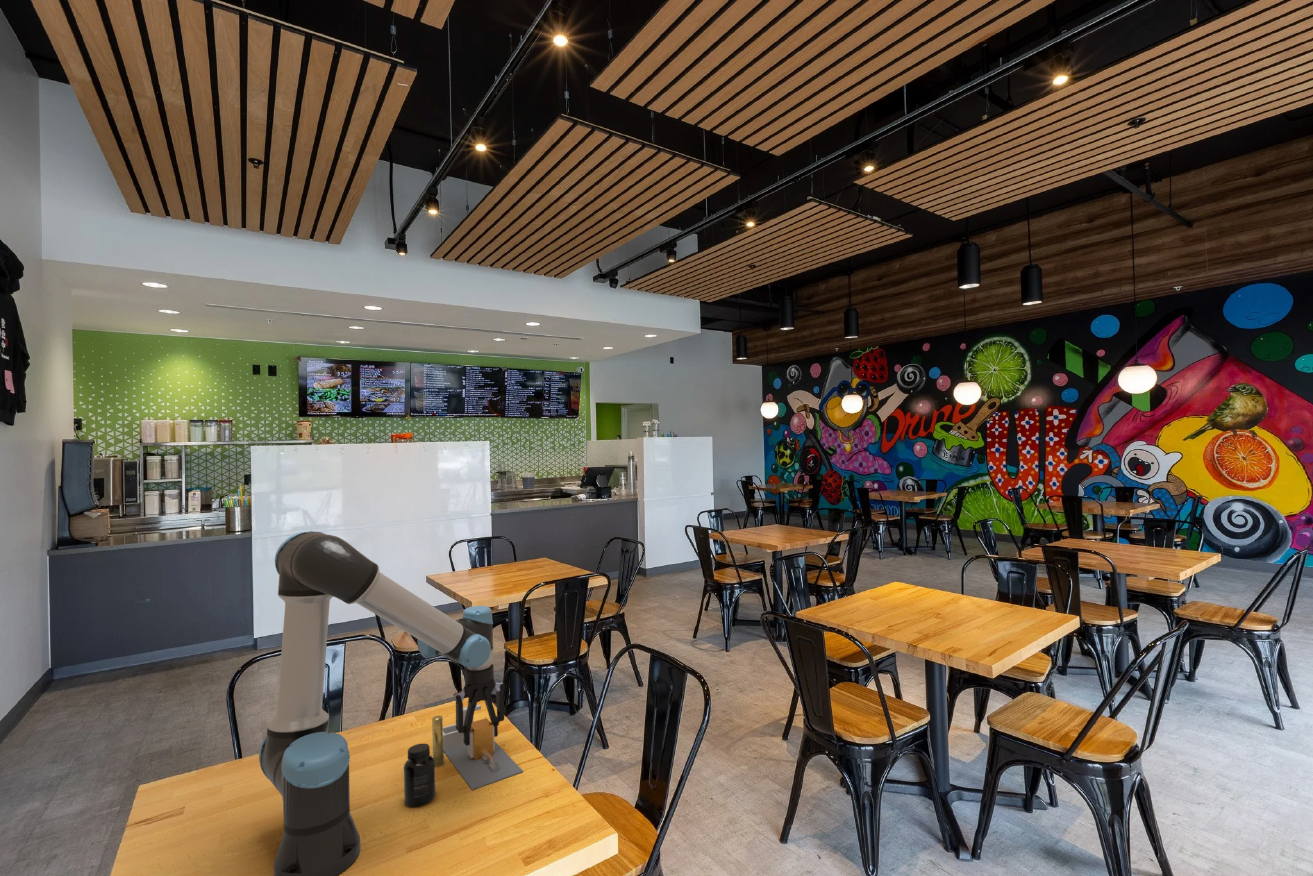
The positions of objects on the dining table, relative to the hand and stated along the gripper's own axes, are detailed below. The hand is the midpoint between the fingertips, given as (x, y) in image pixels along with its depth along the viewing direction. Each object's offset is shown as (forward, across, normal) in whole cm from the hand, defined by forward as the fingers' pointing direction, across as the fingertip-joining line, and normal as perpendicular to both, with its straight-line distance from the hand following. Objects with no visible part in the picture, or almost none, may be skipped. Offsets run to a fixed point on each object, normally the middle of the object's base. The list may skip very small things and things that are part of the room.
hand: (481, 752), depth 161 cm
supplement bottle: (+1, +18, +12) cm, 22 cm away
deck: (+1, +1, 0) cm, 1 cm away
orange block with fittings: (0, 0, +4) cm, 4 cm away
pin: (+1, +10, -3) cm, 11 cm away
